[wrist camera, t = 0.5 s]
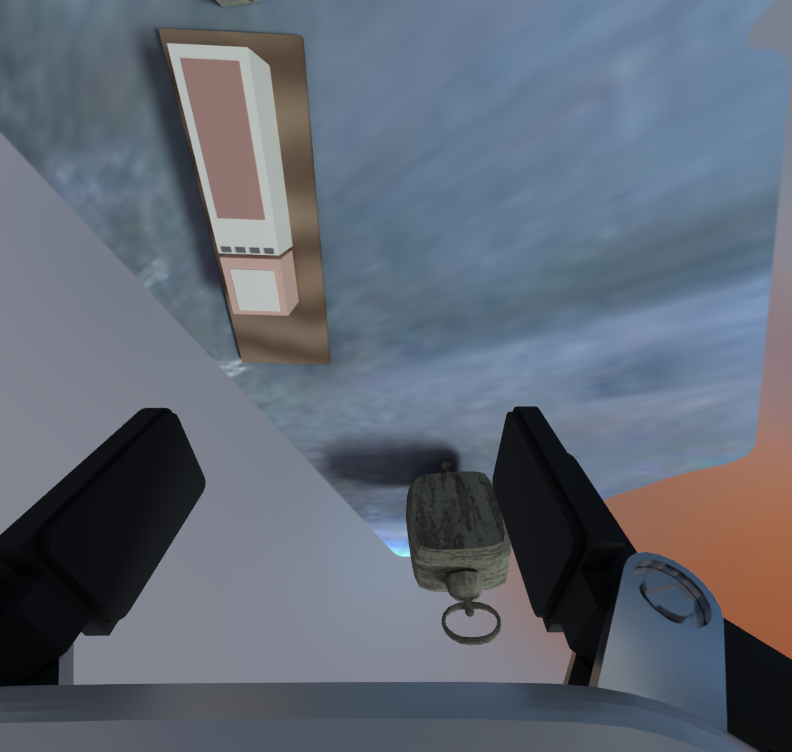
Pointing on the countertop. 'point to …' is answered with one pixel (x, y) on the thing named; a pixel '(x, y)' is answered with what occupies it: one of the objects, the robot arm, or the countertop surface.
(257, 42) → the board
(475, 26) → the countertop surface
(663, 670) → the robot arm
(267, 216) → the white box with vents
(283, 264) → the stub
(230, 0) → the skincare box
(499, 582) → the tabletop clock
